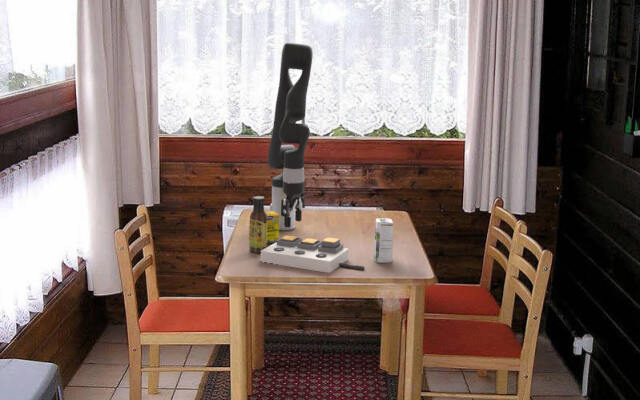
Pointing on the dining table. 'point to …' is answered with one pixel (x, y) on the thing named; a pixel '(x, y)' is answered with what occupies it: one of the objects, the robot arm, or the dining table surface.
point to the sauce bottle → (258, 226)
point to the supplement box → (272, 227)
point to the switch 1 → (289, 238)
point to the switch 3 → (331, 242)
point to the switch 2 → (310, 241)
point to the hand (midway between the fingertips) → (293, 224)
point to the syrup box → (383, 240)
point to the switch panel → (307, 256)
